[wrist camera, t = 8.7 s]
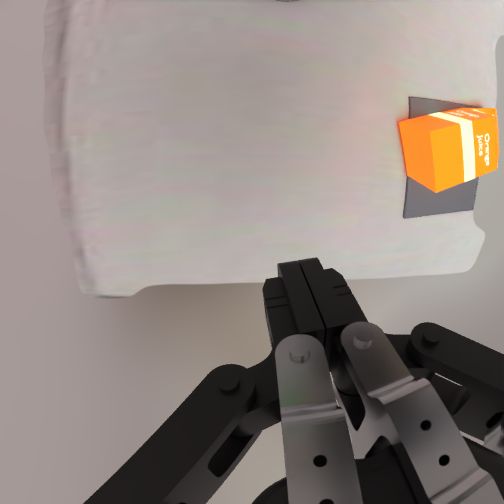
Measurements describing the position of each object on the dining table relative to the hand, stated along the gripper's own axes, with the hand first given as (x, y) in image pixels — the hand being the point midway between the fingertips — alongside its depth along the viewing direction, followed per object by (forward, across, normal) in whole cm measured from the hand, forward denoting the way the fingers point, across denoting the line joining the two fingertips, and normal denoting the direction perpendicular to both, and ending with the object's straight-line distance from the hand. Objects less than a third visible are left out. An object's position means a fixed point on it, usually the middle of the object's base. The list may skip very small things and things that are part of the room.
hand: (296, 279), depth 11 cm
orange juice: (+25, -23, +2) cm, 34 cm away
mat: (+29, -34, +4) cm, 45 cm away
